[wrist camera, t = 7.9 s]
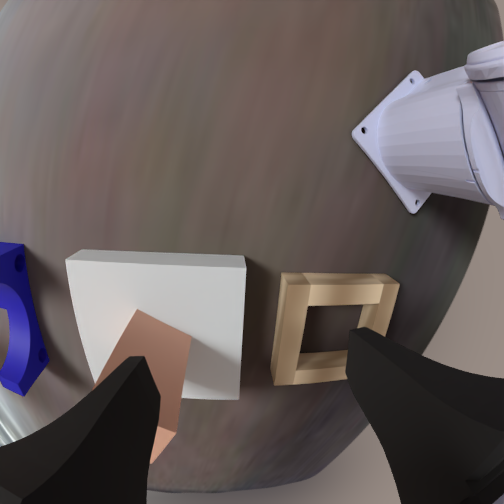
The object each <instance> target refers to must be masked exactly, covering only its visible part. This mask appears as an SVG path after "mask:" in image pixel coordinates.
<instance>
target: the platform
mask: <svg viewBox="0 0 504 504" xmlns="http://www.w3.org/2000/svg"><path fill="white" fill-rule="evenodd" d="M65 261H66V268H67V275H68V281H69V287H70V292H71V298H72V303H73V307H74V312H75V316H76V321H77V325H78V329H79V333H80V337H81V340H82V344H83V347H84V351H85V354H86V357H87V361H88V364H89V367H90V370H91V373H92V376H93V379H94V382H95V383H96V382H97V380H98V378H99V376H100V374H101V372H102V370H103V368H104V366H105V364H106V362H107V361H108V359H109V357H110V355H111V353H112V351H113V350H114V348H115V346H116V344H117V342H118V341H119V339H120V337H121V335H122V334H123V332H124V330H125V328H126V327H127V325H128V323H129V322H130V320H131V318H132V316H133V315H134V313H135V311H136V310H137V309H138V310H140V311H142V312H144V313H146V314H148V315H150V316H152V317H154V318H155V319H157V320H159V321H161V322H163V323H165V324H167V325H169V326H171V327H173V328H175V329H177V330H180V331H182V332H184V333H186V334H188V335H190V336H192V338H191V344H190V349H189V355H188V361H187V367H186V373H185V379H184V385H183V391H182V398H194V399H216V400H239V390H240V371H241V353H242V336H243V318H244V301H245V284H246V263H245V259H244V256H242V255H214V254H187V253H160V252H134V251H109V250H85V249H82V250H80V251H78V252H77V253H75V254H74V255H72V256H70V257H69V258H67V259H65Z"/></svg>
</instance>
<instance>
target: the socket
mask: <svg viewBox="0 0 504 504" xmlns="http://www.w3.org/2000/svg"><path fill="white" fill-rule="evenodd" d="M399 285H400V284H399V283H398V282H396V281H395V280H393V279H392V278H391V277H389V276H388V275H386V274H348V273H285V272H282V273H281V282H280V292H279V301H278V309H277V318H276V326H275V335H274V343H273V350H272V358H271V366H270V370H271V374H272V378H273V383H274V386H277V385H294V384H307V383H318V382H327V381H335V380H343V379H347V376H346V374H345V370H346V362H347V353H348V350H340V351H329V352H316V353H300V347H301V342H302V336H303V331H304V325H305V319H306V313H307V307H308V306H326V305H357V304H363V308H362V312H361V316H360V320H359V324H358V328H361V327H367V328H369V329H371V330H373V331H375V332H377V333H379V334H381V335H383V336H385V335H386V332H387V329H388V325H389V322H390V319H391V315H392V312H393V308H394V305H395V301H396V297H397V293H398V289H399Z"/></svg>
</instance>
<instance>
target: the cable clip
mask: <svg viewBox="0 0 504 504" xmlns="http://www.w3.org/2000/svg"><path fill="white" fill-rule="evenodd" d="M0 308H4V309H7V312H8V317H9V325H10V340H9V348H8V353H7V356H6V360H5V362H4V365H3V367H2V369H1V370H0V381H1V383H2V385H3V387H5V388H7V389H9V390H11V391H13V392H15V393H17V394H19V395H21V396H25V395H26V393H27V392H28V390H29V389H30V387H31V386H32V385H33V383H34V382H35V380H36V379H37V378H38V376H39V375H40V373H41V372H42V371H43V369H44V368H45V367H46V365H47V364H48V363H49V361H50V360H49V358H48V355H47V352H46V349H45V345H44V342H43V339H42V336H41V332H40V329H39V325H38V321H37V317H36V313H35V309H34V305H33V300H32V296H31V291H30V285H29V280H28V274H27V268H26V261H25V253H24V244H15V243H5V242H0Z"/></svg>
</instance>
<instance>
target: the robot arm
mask: <svg viewBox="0 0 504 504" xmlns="http://www.w3.org/2000/svg"><path fill="white" fill-rule="evenodd" d="M410 80H411V81H412V83H411V82H410ZM361 128H364V130H365V134H363V133H362V131H361ZM352 138H353V139H354V141H355V142H356V143H357V144H358V145H359V146H360V148H361V149H362V150H363V151H364V152H365V154H366V155H367V156H368V157H369V159H370V160H371V161H372V162H373V164H374V165H375V166H376V167H377V169H378V170H379V171H380V173H381V174H382V175H383V176H384V178H385V179H386V180H387V182H388V183H389V185H390V186H391V187H392V189H393V190H394V191H395V193H396V194H397V196H398V197H399V199H400V200H401V201H402V203H403V204H404V206H405V207H406V209H407V210H408V212H409V213H413V214H414V213H416V212H417V211H418V210H419V209H420V207H421V206H422V205H423V203H424V202H425V201H426V200H427V198H428V197H429V196H430V194H431V193H436V194H442V195H447V196H452V197H457V198H462V199H467V200H472V201H476V202H481V203H485V204H489V205H494V206H496V207H497V209H498V211H499V214H500V218H501V219H503V220H504V41H501V42H498V43H495V44H492V45H489V46H486V47H484V48H481V49H478V50H476V51H474V52H472V53H470V54H468V57H467V64H466V65H465V66H463V67H459V68H456V69H453V70H450V71H447V72H444V73H441V74H438V75H435V76H432V77H429V78H426V79H424V78H423V77H422V75H421V74H420V73H419V72H418V71H413V72H411V73H410V74H409V75H408V76H407V77H406V78H405V79H404V80H403V81H402V82H401V83H400V84H399V85H398V86H397V87H396V88H395V89H394V90H393V91H392V92H391V93H390V94H389V95H388V96H387V97H386V98H385V99H384V100H383V101H382V102H381V103H380V104H379V105H378V106H377V107H376V108H375V109H374V110H373V111H372V112H371V113H370V114H369V115H368V116H367V117H366V118H365V119H364V120H363V121H362V122H361V123H360V124H359V125H358V126H357V127H356V128H355V129H354V130H353V131H352ZM416 200H417V204H415V202H416ZM345 374H346V376H347V379H348V382H349V384H350V387H351V389H352V392H353V394H354V396H355V398H356V400H357V401H358V403H359V405H360V407H361V409H362V410H363V412H364V414H365V416H366V417H367V419H368V421H369V423H370V424H371V426H372V428H373V430H374V431H375V433H376V435H377V437H378V439H379V441H380V443H381V445H382V447H383V449H384V452H385V454H386V457H387V460H388V462H389V465H390V468H391V471H392V474H393V477H394V480H395V483H396V486H397V490H398V493H399V497H400V500H401V504H504V379H502V378H495V377H488V376H483V375H478V374H472V373H469V372H465V371H462V370H458V369H455V368H452V367H449V366H446V365H443V364H441V363H438V362H436V361H433V360H431V359H428V358H426V357H424V356H422V355H420V354H418V353H416V352H413V351H411V350H409V349H407V348H405V347H404V346H402V345H400V344H398V343H396V342H394V341H392V340H390V339H388V338H387V337H385V336H383V335H381V334H379V333H377V332H375V331H373V330H371V329H369V328H367V327H361V328H357V329H352V330H350V333H349V344H348V353H347V362H346V370H345ZM160 402H161V395H160V393H159V391H158V388H157V386H156V384H155V381H154V379H153V376H152V374H151V371H150V369H149V366H148V364H147V361H146V358H145V356H129V357H128V358H127V359H125V360H124V361H123V362H122V363H121V364H120V365H119V366H118V367H117V368H116V369H115V370H114V371H113V372H112V373H110V374H109V375H108V376H107V377H106V378H105V379H104V380H103V381H102V382H101V383H100V384H99V385H98V386H97V387H96V388H95V389H94V390H92V391H91V392H90V393H89V394H88V395H87V396H86V397H84V398H83V399H82V400H81V401H80V402H79V403H77V404H76V405H75V406H74V407H73V408H71V409H70V410H69V411H67V412H66V413H65V414H63V415H62V416H61V417H59V418H58V419H56V420H55V421H53V422H52V423H50V424H49V425H47V426H45V427H43V428H42V429H40V430H38V431H36V432H34V433H32V434H31V435H29V436H27V437H25V438H22V439H20V440H18V441H15V442H13V443H10V444H7V445H4V446H1V447H0V504H146V496H147V477H148V469H149V464H150V459H151V454H152V450H153V445H154V440H155V436H156V431H157V427H158V422H159V414H160Z"/></svg>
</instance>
